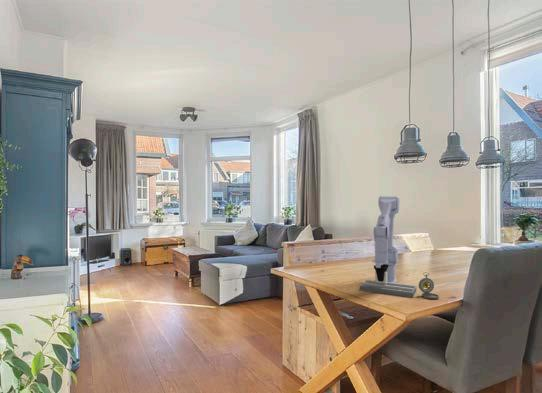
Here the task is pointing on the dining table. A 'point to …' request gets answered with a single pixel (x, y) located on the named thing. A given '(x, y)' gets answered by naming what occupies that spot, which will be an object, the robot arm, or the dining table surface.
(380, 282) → the fader tab
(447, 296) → the dining table surface
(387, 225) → the robot arm
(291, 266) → the dining table surface
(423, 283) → the pocket watch
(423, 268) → the dining table surface
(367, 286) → the fader console
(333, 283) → the dining table surface
